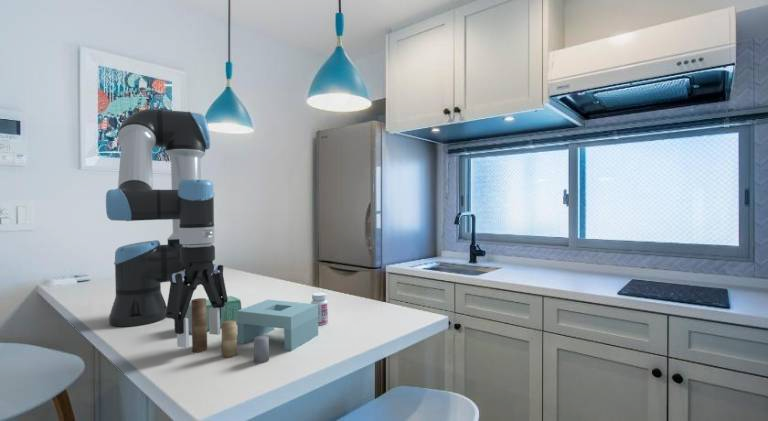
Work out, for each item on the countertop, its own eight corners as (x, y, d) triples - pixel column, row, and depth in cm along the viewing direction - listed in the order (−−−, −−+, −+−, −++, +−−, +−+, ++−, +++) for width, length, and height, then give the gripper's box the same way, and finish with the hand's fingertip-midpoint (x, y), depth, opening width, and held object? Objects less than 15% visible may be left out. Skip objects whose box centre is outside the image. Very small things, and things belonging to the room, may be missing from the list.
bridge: (237, 342, 99) (236, 310, 99) (268, 328, 110) (267, 299, 110) (291, 350, 93) (290, 316, 93) (318, 334, 104) (317, 304, 104)
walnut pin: (189, 351, 93) (188, 300, 93) (200, 346, 96) (199, 297, 96) (199, 353, 92) (198, 302, 92) (210, 348, 95) (209, 298, 95)
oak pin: (218, 356, 90) (218, 323, 90) (229, 351, 93) (228, 319, 93) (230, 358, 89) (229, 325, 89) (240, 353, 92) (239, 321, 92)
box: (242, 323, 115) (241, 298, 115) (193, 335, 106) (192, 307, 105) (231, 318, 120) (231, 294, 120) (184, 329, 111) (183, 302, 111)
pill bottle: (324, 326, 112) (324, 296, 111) (308, 325, 113) (308, 295, 112) (330, 321, 116) (329, 292, 116) (314, 320, 117) (314, 291, 117)
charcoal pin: (250, 362, 87) (250, 339, 87) (260, 356, 90) (260, 334, 90) (262, 364, 86) (262, 341, 86) (272, 358, 89) (271, 336, 88)
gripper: (169, 251, 82) (172, 358, 83) (242, 241, 102) (243, 328, 103) (144, 249, 85) (146, 354, 86) (219, 240, 105) (221, 325, 106)
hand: (199, 339), depth 94 cm, fingers open, 9 cm apart
